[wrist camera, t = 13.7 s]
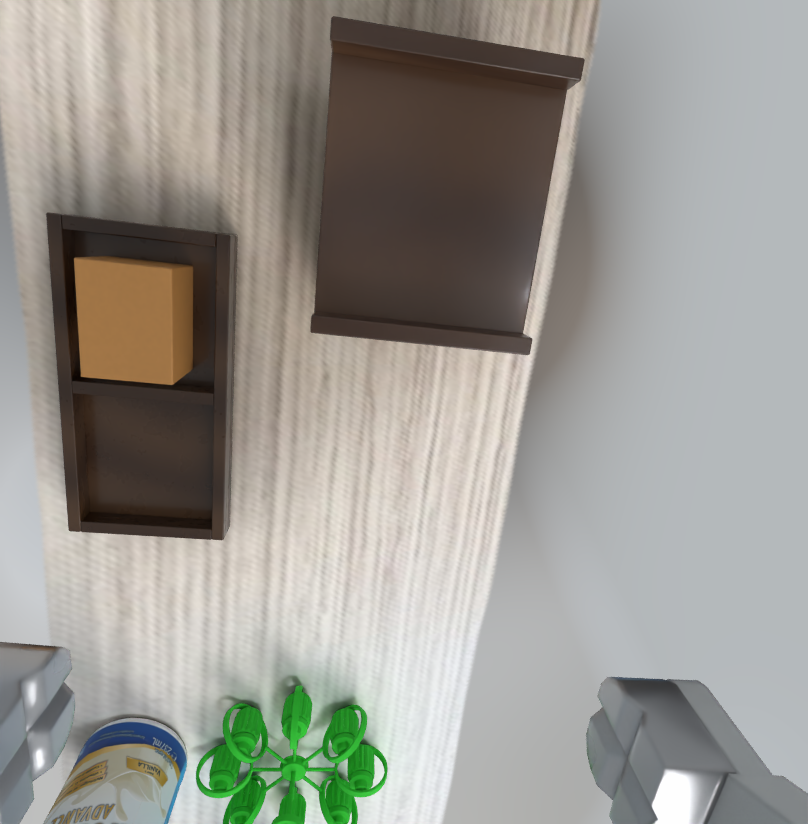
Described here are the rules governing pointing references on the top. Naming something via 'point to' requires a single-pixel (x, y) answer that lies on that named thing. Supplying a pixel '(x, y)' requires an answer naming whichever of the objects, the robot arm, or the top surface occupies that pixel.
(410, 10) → the top surface
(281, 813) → the chandelier
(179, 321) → the cardboard-colored box
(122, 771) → the beverage bottle
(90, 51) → the top surface
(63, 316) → the shelf
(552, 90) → the cubby
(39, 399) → the top surface
